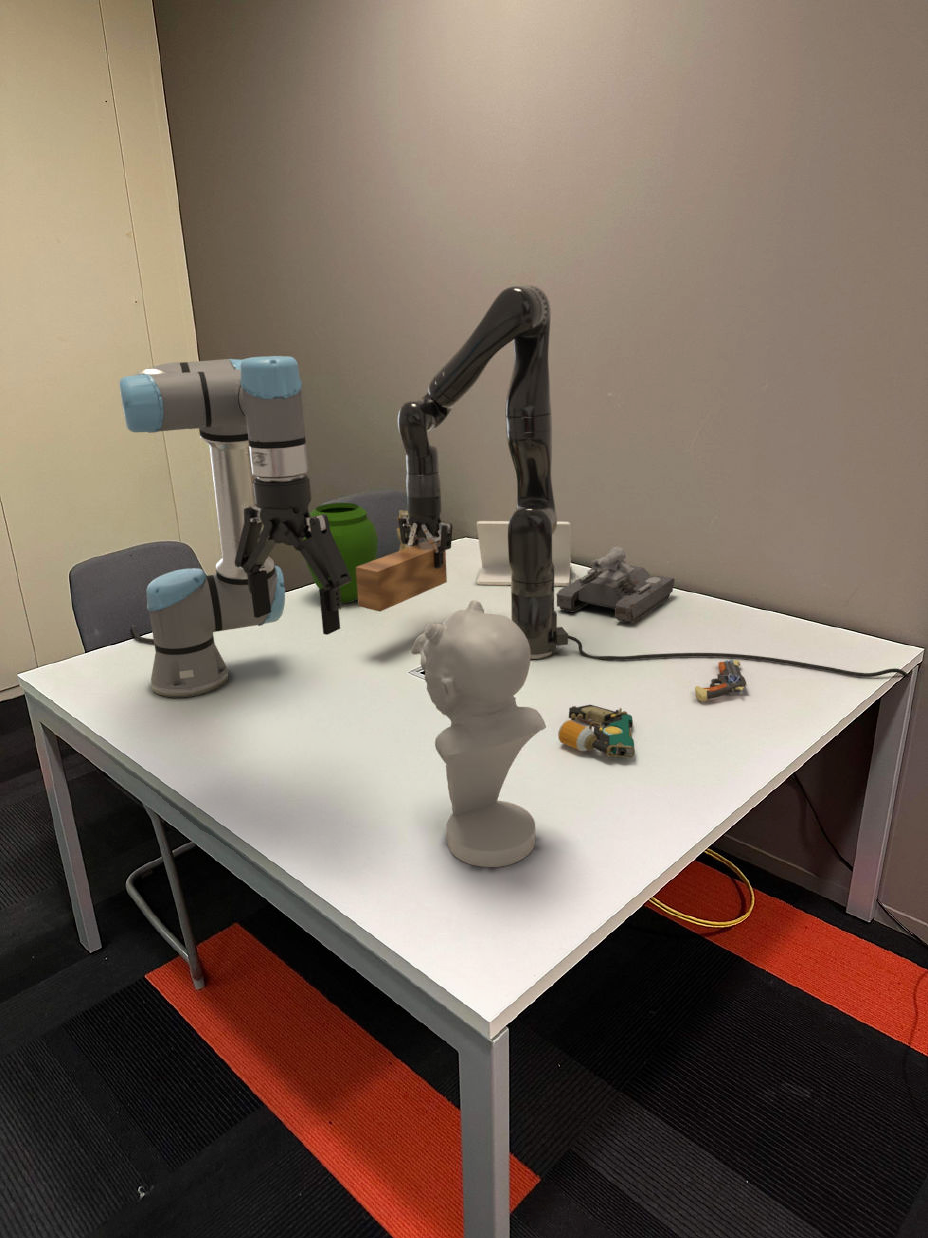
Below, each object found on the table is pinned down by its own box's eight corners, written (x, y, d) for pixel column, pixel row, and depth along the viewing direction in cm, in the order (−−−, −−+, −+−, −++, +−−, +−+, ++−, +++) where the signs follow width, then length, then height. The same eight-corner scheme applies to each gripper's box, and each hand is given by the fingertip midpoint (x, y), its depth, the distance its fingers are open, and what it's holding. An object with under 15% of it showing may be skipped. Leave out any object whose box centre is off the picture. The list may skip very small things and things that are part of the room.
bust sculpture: (481, 772, 140) (476, 569, 128) (565, 848, 120) (569, 617, 108) (392, 800, 134) (378, 588, 121) (465, 886, 114) (457, 642, 101)
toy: (603, 584, 229) (605, 530, 224) (673, 597, 218) (677, 540, 213) (555, 612, 210) (556, 553, 205) (630, 627, 199) (633, 566, 194)
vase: (396, 593, 227) (391, 503, 219) (349, 616, 212) (341, 520, 203) (340, 582, 237) (333, 496, 228) (291, 603, 222) (281, 511, 213)
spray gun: (574, 713, 161) (653, 730, 155) (544, 749, 146) (630, 769, 140) (576, 692, 159) (656, 709, 153) (546, 727, 145) (632, 746, 139)
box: (426, 577, 199) (424, 541, 196) (446, 582, 196) (445, 545, 193) (358, 606, 182) (355, 567, 179) (379, 611, 179) (377, 571, 176)
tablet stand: (569, 585, 229) (570, 524, 223) (476, 584, 232) (475, 523, 226) (570, 566, 246) (571, 508, 240) (484, 564, 249) (483, 507, 243)
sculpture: (417, 556, 259) (415, 507, 254) (417, 563, 252) (415, 513, 247) (398, 557, 259) (395, 508, 254) (398, 564, 252) (395, 514, 247)
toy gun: (696, 691, 161) (751, 688, 159) (689, 658, 179) (739, 655, 177) (697, 705, 162) (752, 702, 159) (690, 670, 179) (740, 667, 177)
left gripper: (197, 473, 119) (217, 615, 126) (331, 490, 106) (344, 648, 113) (238, 464, 125) (254, 601, 132) (370, 479, 112) (380, 630, 119)
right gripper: (387, 492, 189) (391, 564, 195) (438, 499, 181) (441, 574, 187) (409, 485, 194) (412, 556, 200) (460, 492, 186) (462, 566, 192)
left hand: (296, 623), depth 123 cm, fingers open, 13 cm apart
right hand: (426, 565), depth 194 cm, fingers closed on box, 6 cm apart
